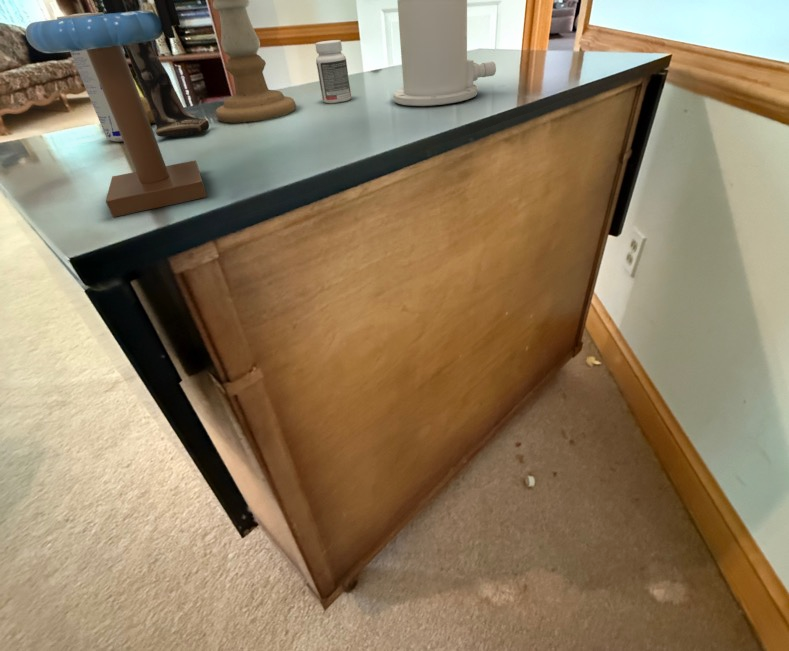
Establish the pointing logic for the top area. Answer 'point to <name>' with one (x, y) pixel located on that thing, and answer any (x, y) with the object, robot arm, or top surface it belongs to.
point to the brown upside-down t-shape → (140, 145)
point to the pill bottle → (332, 72)
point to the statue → (161, 91)
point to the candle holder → (246, 69)
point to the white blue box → (95, 89)
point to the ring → (94, 31)
